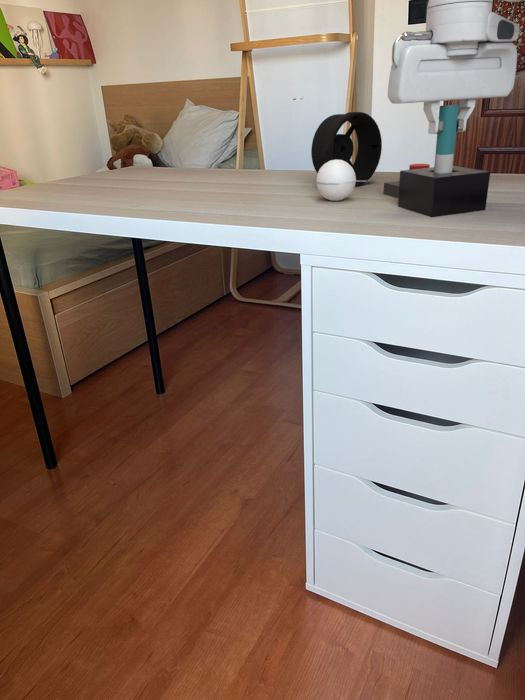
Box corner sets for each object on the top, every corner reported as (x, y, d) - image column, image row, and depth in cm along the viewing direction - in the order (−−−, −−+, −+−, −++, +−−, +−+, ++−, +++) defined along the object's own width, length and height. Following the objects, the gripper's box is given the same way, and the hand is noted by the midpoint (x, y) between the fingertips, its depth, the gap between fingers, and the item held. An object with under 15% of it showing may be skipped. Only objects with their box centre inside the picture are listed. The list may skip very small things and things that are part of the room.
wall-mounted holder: (350, 110, 116) (383, 109, 108) (348, 178, 122) (380, 182, 114) (298, 114, 108) (330, 114, 101) (300, 187, 115) (330, 192, 107)
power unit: (428, 189, 105) (429, 168, 103) (452, 195, 98) (455, 172, 96) (383, 194, 102) (384, 172, 100) (405, 200, 95) (407, 177, 94)
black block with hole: (447, 200, 93) (451, 165, 91) (485, 210, 85) (490, 171, 82) (397, 207, 91) (399, 170, 88) (431, 217, 82) (435, 177, 80)
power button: (421, 172, 100) (422, 163, 100) (432, 175, 97) (433, 165, 97) (405, 174, 100) (405, 164, 99) (415, 176, 96) (416, 166, 96)
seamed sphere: (307, 201, 99) (307, 160, 96) (335, 195, 103) (335, 156, 100) (347, 207, 92) (347, 163, 89) (374, 201, 96) (376, 159, 93)
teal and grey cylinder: (443, 184, 88) (451, 104, 83) (454, 186, 85) (462, 105, 80) (429, 185, 87) (435, 106, 82) (439, 188, 85) (447, 106, 79)
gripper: (405, 29, 71) (399, 138, 77) (529, 26, 76) (514, 129, 82) (382, 34, 77) (377, 136, 83) (499, 31, 82) (487, 127, 88)
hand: (446, 132), depth 83 cm, fingers closed on teal and grey cylinder, 3 cm apart
